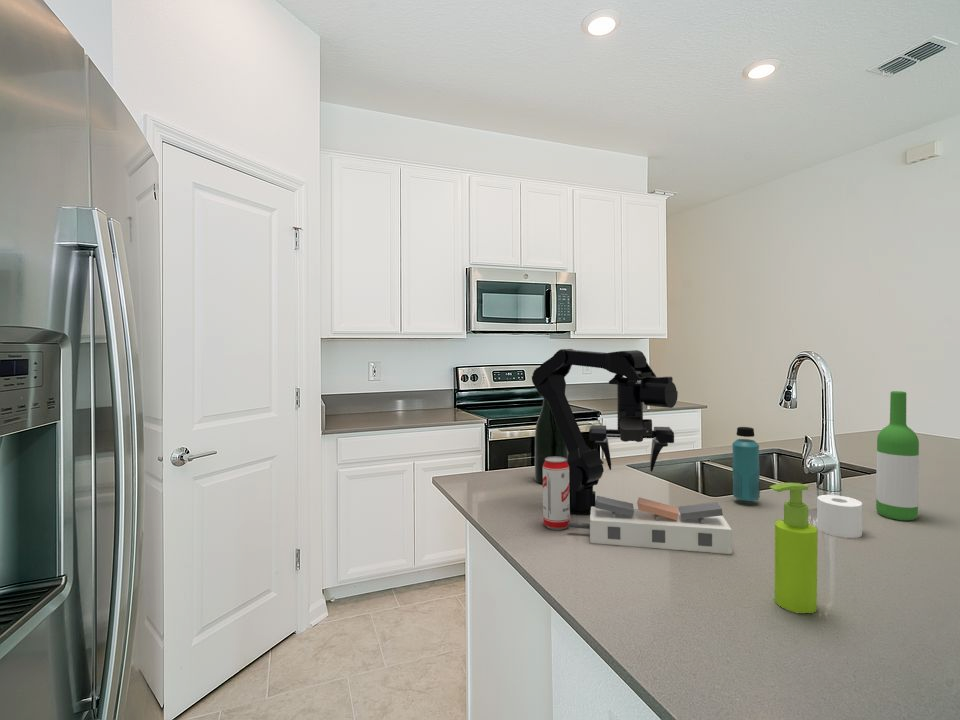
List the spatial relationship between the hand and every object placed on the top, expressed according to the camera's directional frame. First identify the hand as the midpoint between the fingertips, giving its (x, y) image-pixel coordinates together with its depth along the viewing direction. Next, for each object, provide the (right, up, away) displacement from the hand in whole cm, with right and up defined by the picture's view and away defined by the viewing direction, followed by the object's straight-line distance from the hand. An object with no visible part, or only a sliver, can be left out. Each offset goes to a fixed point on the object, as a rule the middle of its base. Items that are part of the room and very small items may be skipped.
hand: (630, 470), depth 118 cm
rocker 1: (-6, -7, -6) cm, 11 cm away
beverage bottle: (+35, -12, +15) cm, 39 cm away
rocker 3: (+12, -7, -11) cm, 18 cm away
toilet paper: (+47, -13, -4) cm, 48 cm away
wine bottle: (+65, -12, +3) cm, 66 cm away
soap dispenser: (+16, -14, -35) cm, 41 cm away
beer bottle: (-13, -12, +38) cm, 42 cm away
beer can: (-17, -14, +1) cm, 22 cm away
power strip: (+1, -13, -8) cm, 16 cm away
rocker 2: (+3, -7, -9) cm, 12 cm away
